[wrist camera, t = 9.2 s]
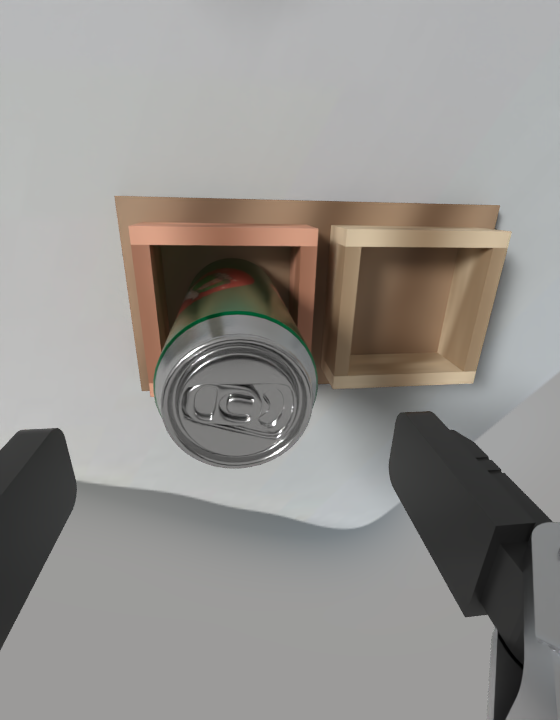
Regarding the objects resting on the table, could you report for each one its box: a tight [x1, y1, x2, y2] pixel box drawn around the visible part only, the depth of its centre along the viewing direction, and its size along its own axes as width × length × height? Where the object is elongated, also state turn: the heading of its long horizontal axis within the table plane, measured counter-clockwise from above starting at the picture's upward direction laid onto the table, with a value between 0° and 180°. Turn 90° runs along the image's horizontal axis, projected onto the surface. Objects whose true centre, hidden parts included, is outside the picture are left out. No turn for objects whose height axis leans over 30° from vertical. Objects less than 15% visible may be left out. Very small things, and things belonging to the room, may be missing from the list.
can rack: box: [115, 196, 512, 397], centre depth 21 cm, size 21×11×4 cm, turn 89°
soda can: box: [153, 258, 318, 468], centre depth 16 cm, size 5×5×12 cm
